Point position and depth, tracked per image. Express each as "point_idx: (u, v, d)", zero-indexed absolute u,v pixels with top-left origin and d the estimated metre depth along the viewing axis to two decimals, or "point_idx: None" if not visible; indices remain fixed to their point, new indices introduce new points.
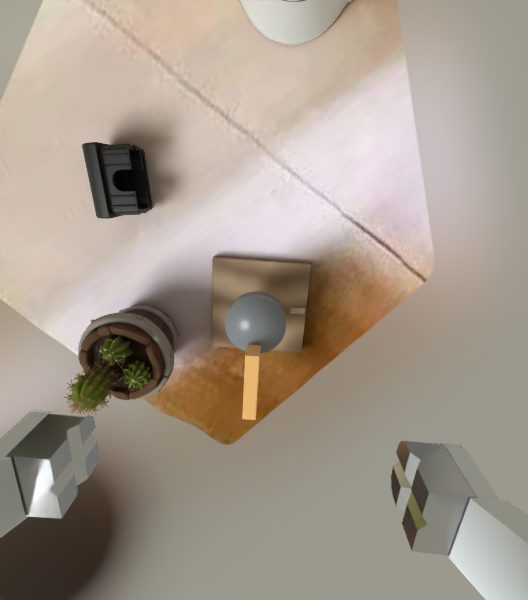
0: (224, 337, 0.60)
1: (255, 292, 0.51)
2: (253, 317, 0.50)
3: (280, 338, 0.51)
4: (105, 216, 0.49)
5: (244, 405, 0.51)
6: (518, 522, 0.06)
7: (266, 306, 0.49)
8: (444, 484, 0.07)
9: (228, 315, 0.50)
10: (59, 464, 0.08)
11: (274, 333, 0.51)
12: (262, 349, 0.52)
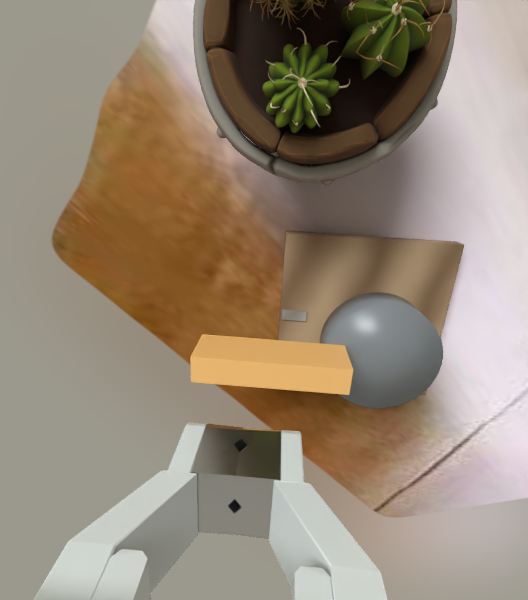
0: (305, 258, 0.32)
1: None
2: (402, 356, 0.26)
3: (353, 399, 0.28)
4: None
5: (226, 362, 0.23)
6: (305, 503, 0.07)
7: (421, 379, 0.27)
8: (257, 468, 0.07)
9: (411, 312, 0.25)
10: None
11: (364, 390, 0.27)
12: None
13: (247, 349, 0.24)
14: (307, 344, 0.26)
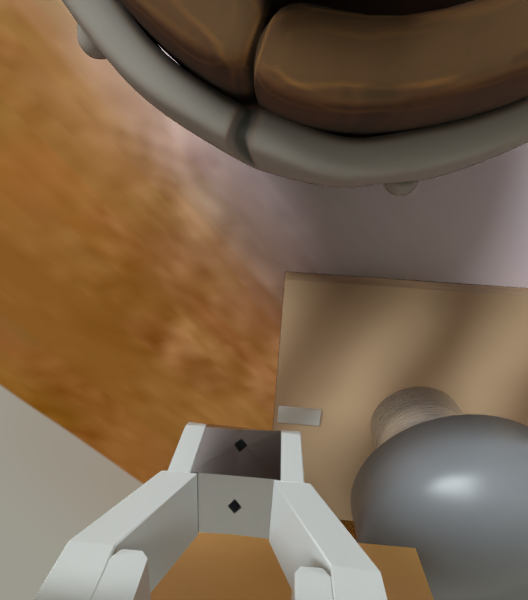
0: (319, 324, 0.17)
1: None
2: None
3: None
4: None
5: None
6: (306, 503, 0.07)
7: None
8: (257, 468, 0.07)
9: None
10: None
11: None
12: None
13: (192, 588, 0.10)
14: None
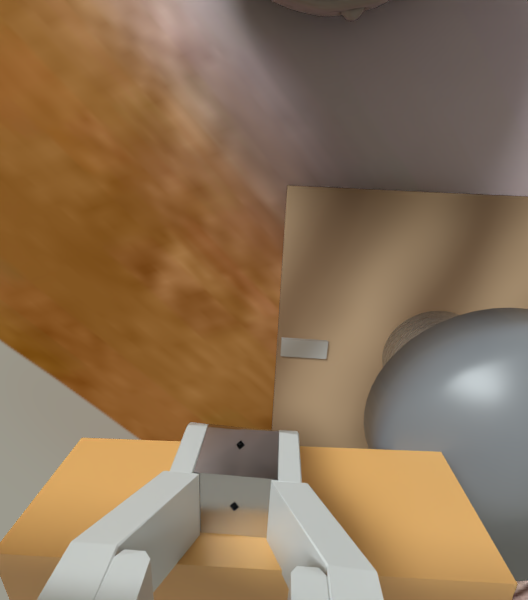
0: (325, 238, 0.16)
1: None
2: None
3: None
4: None
5: None
6: (302, 503, 0.07)
7: None
8: (254, 468, 0.07)
9: None
10: None
11: None
12: None
13: None
14: (345, 455, 0.10)
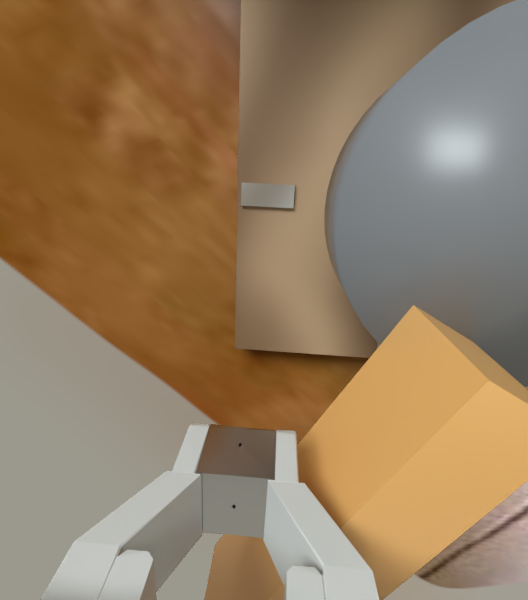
0: (288, 46, 0.14)
1: None
2: None
3: None
4: None
5: None
6: (299, 502, 0.07)
7: None
8: (251, 467, 0.07)
9: (436, 59, 0.07)
10: None
11: None
12: None
13: None
14: (350, 390, 0.09)
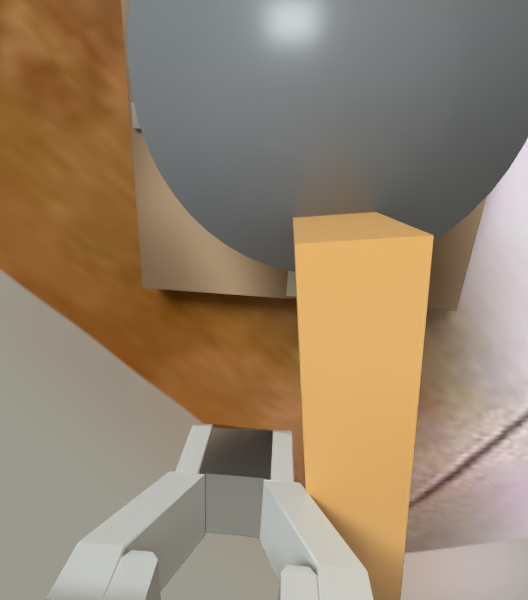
0: None
1: None
2: None
3: (511, 139, 0.07)
4: None
5: None
6: (295, 502, 0.07)
7: None
8: (248, 467, 0.07)
9: (138, 12, 0.07)
10: None
11: (467, 105, 0.07)
12: None
13: None
14: None
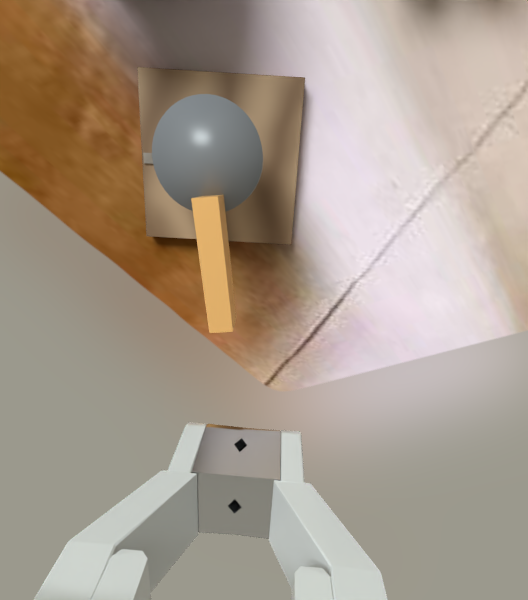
0: (158, 95, 0.33)
1: None
2: (199, 137, 0.27)
3: (256, 174, 0.28)
4: None
5: (207, 305, 0.28)
6: (306, 503, 0.07)
7: (220, 109, 0.26)
8: (257, 468, 0.07)
9: (155, 141, 0.27)
10: None
11: (243, 166, 0.28)
12: (227, 203, 0.29)
13: None
14: None
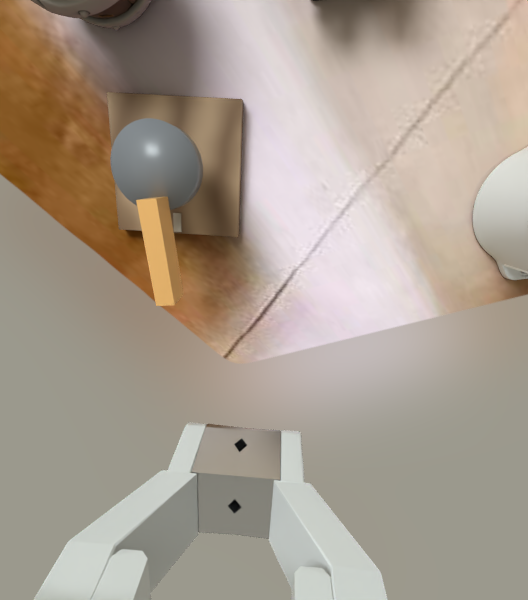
0: (124, 114, 0.41)
1: None
2: (146, 151, 0.35)
3: (192, 180, 0.35)
4: None
5: (153, 283, 0.36)
6: (305, 503, 0.07)
7: (161, 130, 0.34)
8: (257, 468, 0.07)
9: (112, 155, 0.35)
10: None
11: (181, 174, 0.35)
12: (171, 203, 0.36)
13: None
14: None
